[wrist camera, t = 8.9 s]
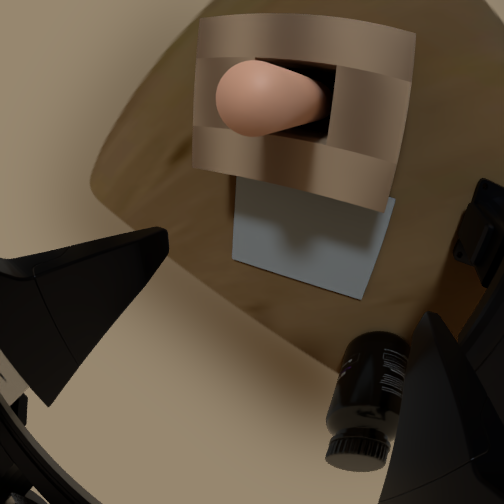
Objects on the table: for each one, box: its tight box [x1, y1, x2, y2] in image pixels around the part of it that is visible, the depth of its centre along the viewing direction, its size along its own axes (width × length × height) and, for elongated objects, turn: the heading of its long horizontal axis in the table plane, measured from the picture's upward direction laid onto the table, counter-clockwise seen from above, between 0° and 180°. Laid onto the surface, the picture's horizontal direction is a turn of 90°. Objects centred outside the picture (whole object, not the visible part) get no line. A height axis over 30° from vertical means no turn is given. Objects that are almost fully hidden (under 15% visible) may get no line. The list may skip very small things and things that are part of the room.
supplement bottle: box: [325, 331, 410, 472], centre depth 20 cm, size 7×7×12 cm
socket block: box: [192, 13, 416, 213], centre depth 15 cm, size 12×10×5 cm
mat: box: [232, 176, 395, 300], centre depth 22 cm, size 12×9×1 cm
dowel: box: [216, 60, 333, 137], centre depth 13 cm, size 3×3×10 cm
